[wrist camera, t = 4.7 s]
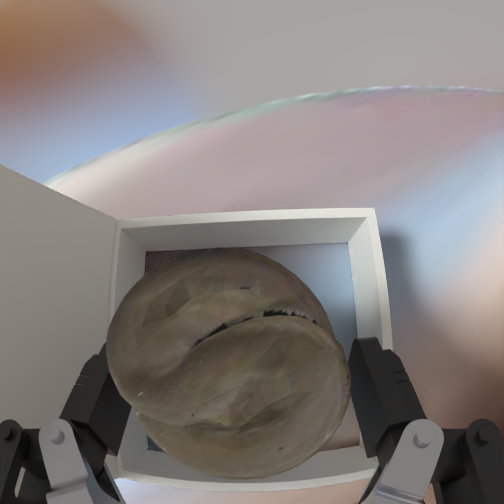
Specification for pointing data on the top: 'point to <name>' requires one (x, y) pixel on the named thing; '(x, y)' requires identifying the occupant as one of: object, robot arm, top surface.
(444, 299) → the top surface
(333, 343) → the twisted stone column
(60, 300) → the box
